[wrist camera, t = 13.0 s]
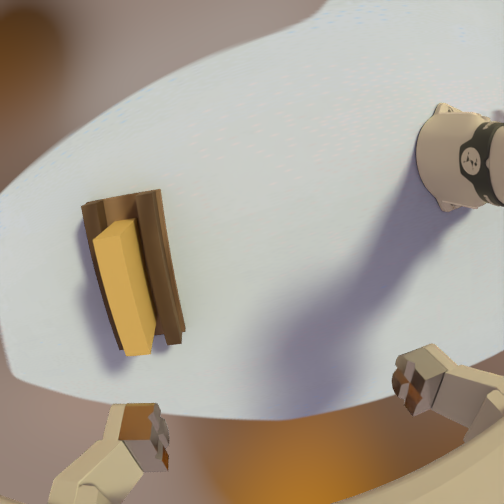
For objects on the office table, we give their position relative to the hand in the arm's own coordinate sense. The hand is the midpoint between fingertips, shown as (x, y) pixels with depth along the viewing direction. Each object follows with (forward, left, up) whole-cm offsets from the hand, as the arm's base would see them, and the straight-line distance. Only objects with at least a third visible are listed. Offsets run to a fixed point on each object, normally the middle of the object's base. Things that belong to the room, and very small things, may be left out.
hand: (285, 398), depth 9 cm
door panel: (+12, +6, -31) cm, 34 cm away
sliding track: (+12, +6, -32) cm, 35 cm away
